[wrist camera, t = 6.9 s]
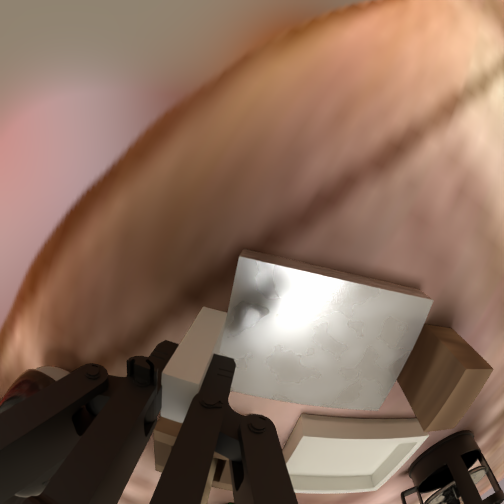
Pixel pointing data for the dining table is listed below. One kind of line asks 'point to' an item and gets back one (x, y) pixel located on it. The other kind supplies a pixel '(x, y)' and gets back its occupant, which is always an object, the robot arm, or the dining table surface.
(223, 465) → the socket block
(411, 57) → the dining table surface
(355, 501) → the dining table surface
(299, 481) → the tray
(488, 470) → the french press
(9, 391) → the pump dispenser
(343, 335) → the plate
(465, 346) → the wooden block
